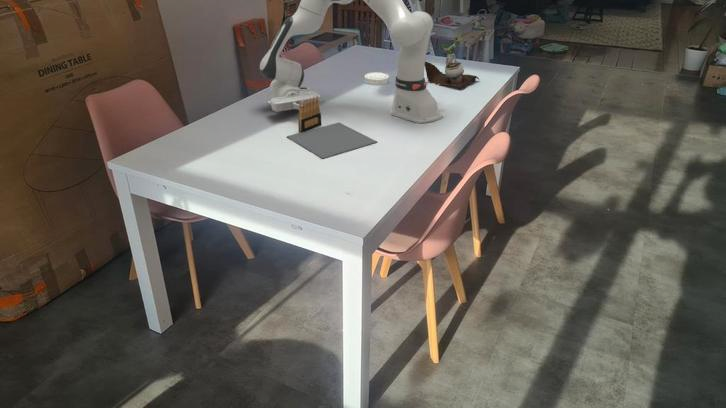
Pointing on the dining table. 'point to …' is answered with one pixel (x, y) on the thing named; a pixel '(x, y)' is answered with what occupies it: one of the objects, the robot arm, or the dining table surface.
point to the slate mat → (331, 140)
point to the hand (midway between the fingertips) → (302, 107)
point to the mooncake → (376, 78)
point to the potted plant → (449, 71)
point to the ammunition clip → (309, 115)
